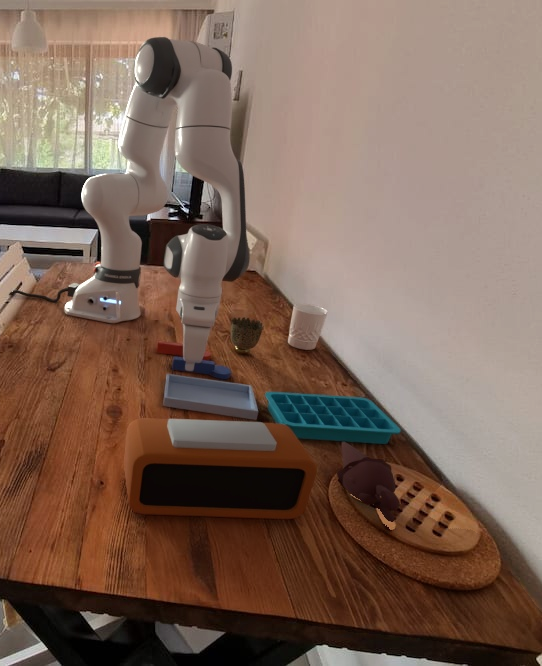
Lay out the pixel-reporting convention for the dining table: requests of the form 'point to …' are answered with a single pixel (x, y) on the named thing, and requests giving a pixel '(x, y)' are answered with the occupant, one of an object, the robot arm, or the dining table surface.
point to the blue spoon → (203, 368)
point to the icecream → (369, 481)
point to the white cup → (306, 326)
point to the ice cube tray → (331, 417)
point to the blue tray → (210, 396)
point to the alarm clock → (216, 469)
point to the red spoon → (176, 349)
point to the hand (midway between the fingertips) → (189, 363)
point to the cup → (245, 334)
